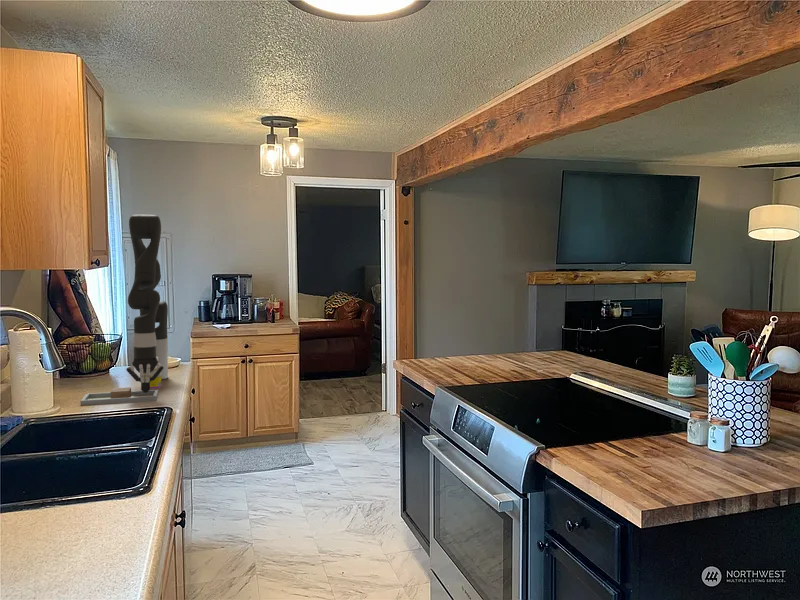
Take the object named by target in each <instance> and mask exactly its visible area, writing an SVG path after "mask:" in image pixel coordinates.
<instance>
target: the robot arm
mask: <svg viewBox="0 0 800 600" xmlns="http://www.w3.org/2000/svg"><path fill="white" fill-rule="evenodd" d="M128 227H129V228H128V229H129V234H130V240H131V243H132V249H133V256H134V257H133V258H134V280H133V284H132V286H131V288H130V291H129V293H128V296H127V303H128V307H129V308H130V309H132V310H139V315H138V316H136V317H134V319H133V343H132V344H133V361H132V363H131V365H129V366H128V367H126V369H125V370H126V372H127V373H128V374H129V375H130V376H131V377H132V378H133V380H135V382H139V383H141V384H140V389H141V390H140V391H143V393H148V391H149V390H151V389H150V381H153V380H155V379H156V377H157V376H158V375H159V374H160V372H161V380H167V379H168V378H169V358H168V356H169V354H168V352H169V351H168V350H169V349H168V343H169V342H168V314H169V309H168V304H167V302H166V301H165V300H161V295H160V293H159V291H158V290H156V287H157V286H158V285H159V283H160V281H161V279H162V274H161V272H162V271H161V265H160V262H159V260H158V259H157V258H158V254H159V247H160V242H161V236H162V235H161V234H162V221H161V218H160V217H159V216H158V215H156V214H132V215H131V216H130V217H129V219H128ZM143 240H150V241H149V243H148V246H146V245H145V244H144V242H143ZM156 324H158V325H157V326H156ZM156 357H158V361H157V359H156ZM158 363H160V364H161V365H160V364H158ZM156 366H157V368H156V370H157V371H156V373H155V374H154V375H153V376H152V377H150V374H151V372H152V371H153V370H154V368H155V367H156ZM135 370H136V371H137V372H138V373H139V375H138V374H137V373H136V372H135ZM145 373H146V382H145Z"/></svg>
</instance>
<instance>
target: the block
mask: <svg viewBox="0 0 800 600" xmlns="http://www.w3.org/2000/svg"><path fill="white" fill-rule="evenodd" d="M131 391H132V387H131V386H129V387H127V386H125V387H113V388H112V389H111V390H110V392H111V398H126V397H131Z"/></svg>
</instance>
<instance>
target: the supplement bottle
mask: <svg viewBox="0 0 800 600" xmlns="http://www.w3.org/2000/svg"><path fill="white" fill-rule="evenodd" d="M156 359H157V361H158V357H156ZM158 364H160V363H158ZM160 365H161V364H160ZM156 368H157V366H156V367H155V368H154V370H153V371H152V372H151V374H150V377H152V376H153V375H154V374H155V373H156V371H157V370H156ZM145 382H146V373H145ZM161 387H162V379H161V372H160V374H159V375H158V376H157V377H156V379H155V380H153V381H150V390H157V389H160V388H161Z"/></svg>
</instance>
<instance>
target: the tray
mask: <svg viewBox="0 0 800 600" xmlns="http://www.w3.org/2000/svg"><path fill="white" fill-rule="evenodd" d="M158 396H159V389H150V390H149V391H148V393H143V391H142V390H131V397H126V398H111V391H110V392H108V391H107V392H94V393H93V392H92V393H91V392H89V393H86V394H84V396H83V398H82V399H81V400H80V406H87V405H89V406H91V405H103V404H104V405H106V404H109V405H110V404H124V403H125V404H126V403H137V402H139V403H140V402H156V401H157V398H158Z"/></svg>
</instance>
